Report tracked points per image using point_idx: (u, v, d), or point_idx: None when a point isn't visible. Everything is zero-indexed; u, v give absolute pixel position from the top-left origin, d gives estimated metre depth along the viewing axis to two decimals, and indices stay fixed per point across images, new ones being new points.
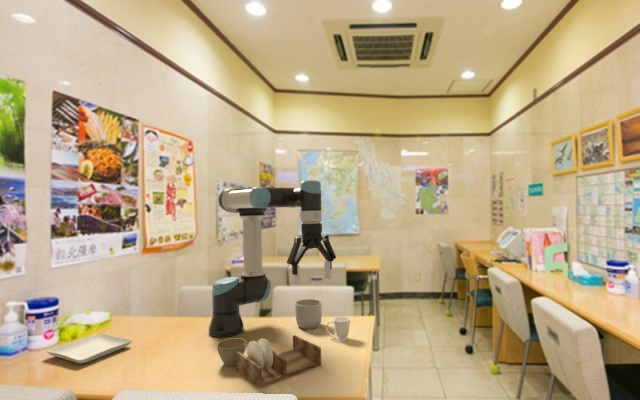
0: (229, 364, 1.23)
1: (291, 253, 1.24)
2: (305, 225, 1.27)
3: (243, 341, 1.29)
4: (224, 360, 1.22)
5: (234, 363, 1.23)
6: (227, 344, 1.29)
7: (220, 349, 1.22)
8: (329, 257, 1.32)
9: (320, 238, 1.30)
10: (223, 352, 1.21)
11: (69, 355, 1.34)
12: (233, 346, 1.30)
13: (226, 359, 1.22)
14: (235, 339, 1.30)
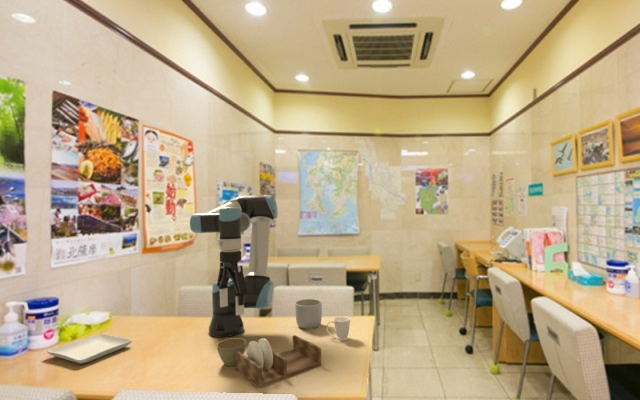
0: (229, 364, 1.23)
1: None
2: None
3: (243, 341, 1.29)
4: (224, 360, 1.22)
5: (234, 363, 1.23)
6: (227, 344, 1.29)
7: (220, 349, 1.22)
8: (236, 291, 1.20)
9: (231, 268, 1.23)
10: (223, 352, 1.21)
11: (69, 355, 1.34)
12: (233, 346, 1.30)
13: (226, 359, 1.22)
14: (235, 339, 1.30)
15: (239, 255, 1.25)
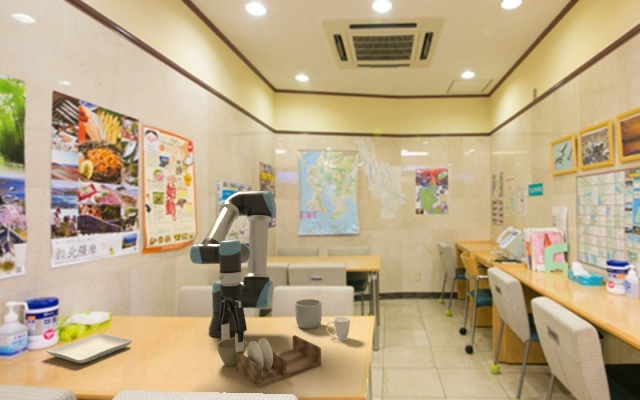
0: (229, 364, 1.22)
1: None
2: None
3: None
4: (224, 360, 1.22)
5: (234, 363, 1.23)
6: (227, 344, 1.29)
7: (220, 349, 1.21)
8: (236, 328, 1.20)
9: (232, 302, 1.23)
10: (223, 352, 1.21)
11: (69, 355, 1.34)
12: (233, 346, 1.30)
13: (227, 359, 1.21)
14: None
15: (239, 289, 1.25)
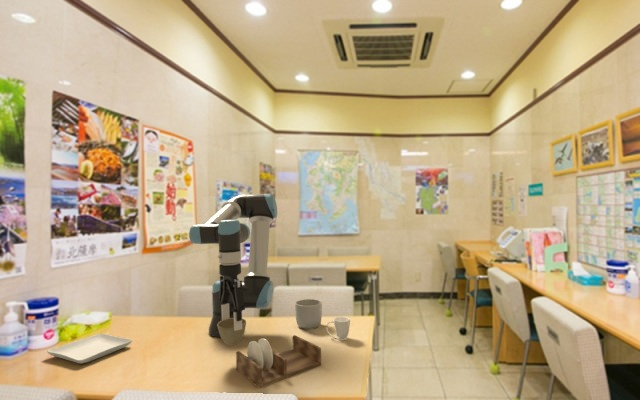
0: (229, 343, 1.24)
1: None
2: None
3: (243, 321, 1.29)
4: (224, 339, 1.23)
5: (234, 342, 1.24)
6: (227, 324, 1.30)
7: (220, 329, 1.22)
8: (234, 307, 1.21)
9: (231, 281, 1.23)
10: (223, 332, 1.22)
11: (69, 355, 1.34)
12: (233, 326, 1.31)
13: (227, 338, 1.23)
14: None
15: (239, 268, 1.25)
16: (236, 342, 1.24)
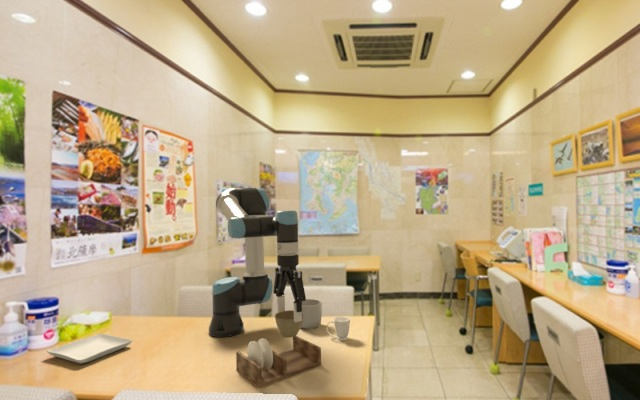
0: (288, 335, 1.21)
1: None
2: None
3: None
4: (283, 331, 1.21)
5: (293, 334, 1.22)
6: (283, 316, 1.28)
7: (280, 320, 1.20)
8: (294, 298, 1.19)
9: (290, 272, 1.22)
10: (283, 323, 1.20)
11: (69, 355, 1.34)
12: (289, 318, 1.29)
13: (286, 330, 1.20)
14: (290, 311, 1.29)
15: (297, 259, 1.24)
16: (294, 334, 1.22)
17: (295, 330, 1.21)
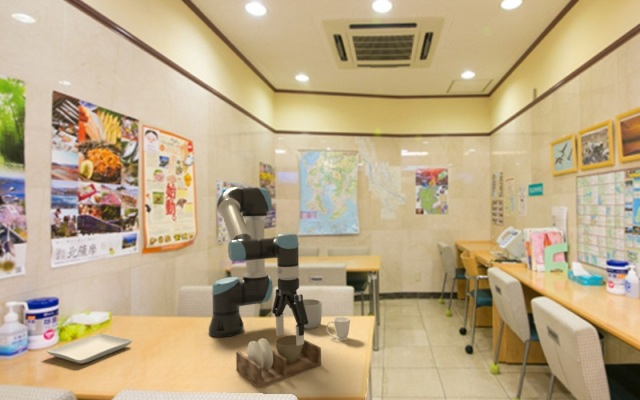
0: (288, 361, 1.21)
1: None
2: None
3: None
4: None
5: (293, 360, 1.22)
6: (283, 341, 1.28)
7: (280, 346, 1.20)
8: (297, 321, 1.18)
9: (290, 296, 1.22)
10: (283, 349, 1.20)
11: (69, 355, 1.34)
12: (289, 343, 1.29)
13: (286, 356, 1.20)
14: (290, 336, 1.29)
15: (298, 283, 1.23)
16: (295, 360, 1.22)
17: (295, 356, 1.21)
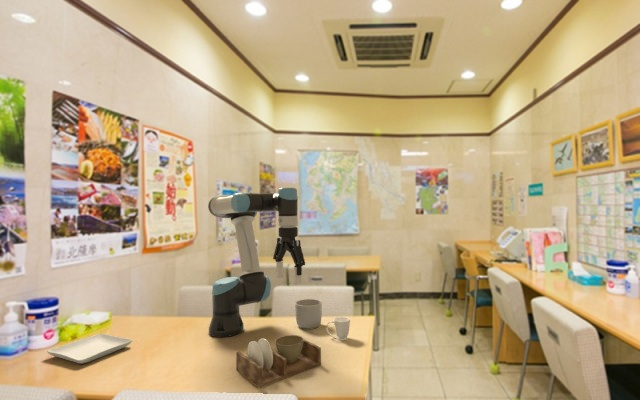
0: (288, 361, 1.21)
1: None
2: None
3: (300, 338, 1.27)
4: None
5: (293, 360, 1.22)
6: (283, 341, 1.28)
7: (280, 346, 1.20)
8: (295, 263, 1.33)
9: (289, 242, 1.36)
10: (283, 349, 1.20)
11: (69, 355, 1.34)
12: (289, 343, 1.29)
13: (286, 356, 1.20)
14: (290, 336, 1.29)
15: (296, 231, 1.38)
16: (295, 360, 1.22)
17: (295, 356, 1.21)
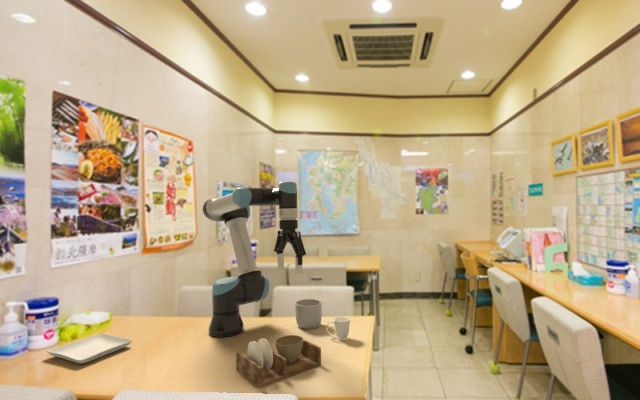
0: (288, 361, 1.21)
1: None
2: None
3: (300, 338, 1.27)
4: None
5: (293, 360, 1.22)
6: (283, 341, 1.28)
7: (280, 346, 1.20)
8: (296, 253, 1.39)
9: (290, 234, 1.43)
10: (283, 349, 1.20)
11: (69, 355, 1.34)
12: (289, 343, 1.29)
13: (286, 356, 1.20)
14: (290, 336, 1.29)
15: (296, 223, 1.44)
16: (295, 360, 1.22)
17: (295, 356, 1.21)
